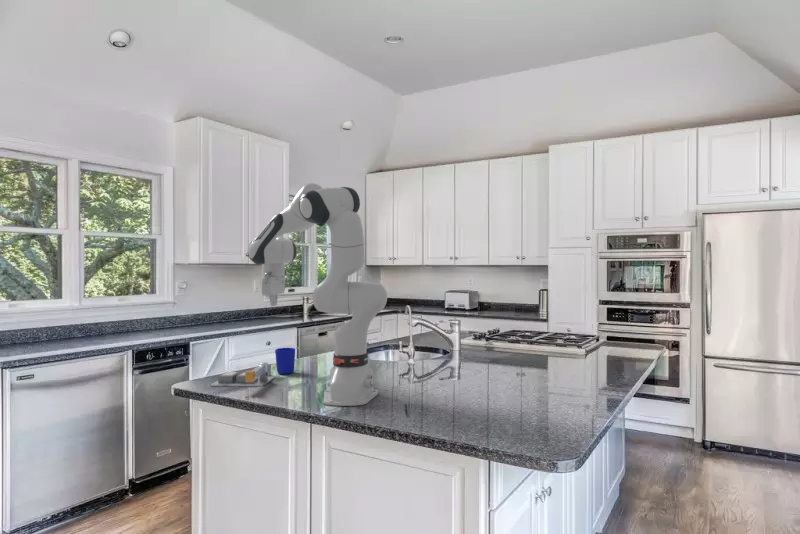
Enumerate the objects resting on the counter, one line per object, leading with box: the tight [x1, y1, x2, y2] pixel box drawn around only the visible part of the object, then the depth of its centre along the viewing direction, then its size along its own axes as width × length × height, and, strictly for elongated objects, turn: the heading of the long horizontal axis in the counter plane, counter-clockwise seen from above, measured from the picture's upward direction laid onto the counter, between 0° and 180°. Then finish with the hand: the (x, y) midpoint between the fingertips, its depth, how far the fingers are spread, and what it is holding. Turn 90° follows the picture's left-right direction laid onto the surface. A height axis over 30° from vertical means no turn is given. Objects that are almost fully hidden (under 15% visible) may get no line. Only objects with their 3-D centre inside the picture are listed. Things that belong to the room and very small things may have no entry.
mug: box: [274, 347, 296, 375], centre depth 216 cm, size 8×12×10 cm
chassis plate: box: [210, 371, 275, 387], centre depth 199 cm, size 14×20×4 cm
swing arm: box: [244, 362, 269, 382], centre depth 190 cm, size 3×19×4 cm, turn 179°
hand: (273, 305), depth 210 cm, fingers closed
